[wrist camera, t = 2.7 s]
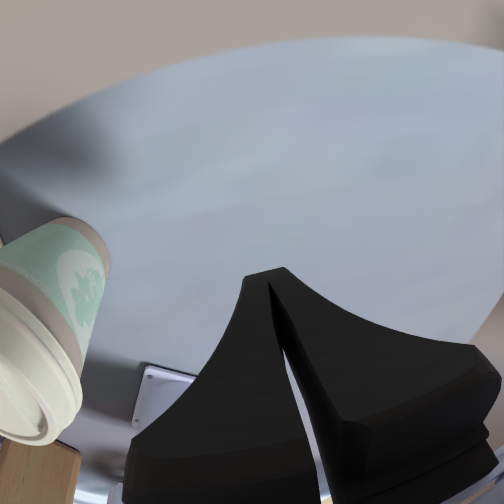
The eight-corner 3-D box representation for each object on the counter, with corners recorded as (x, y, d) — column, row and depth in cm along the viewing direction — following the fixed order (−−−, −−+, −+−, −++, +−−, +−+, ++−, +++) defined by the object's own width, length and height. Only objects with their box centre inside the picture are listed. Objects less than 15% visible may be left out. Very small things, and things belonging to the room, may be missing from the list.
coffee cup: (109, 329, 21) (64, 471, 10) (14, 278, 18) (-71, 389, 8) (150, 231, 18) (86, 383, 8) (37, 174, 16) (-102, 255, 5)
